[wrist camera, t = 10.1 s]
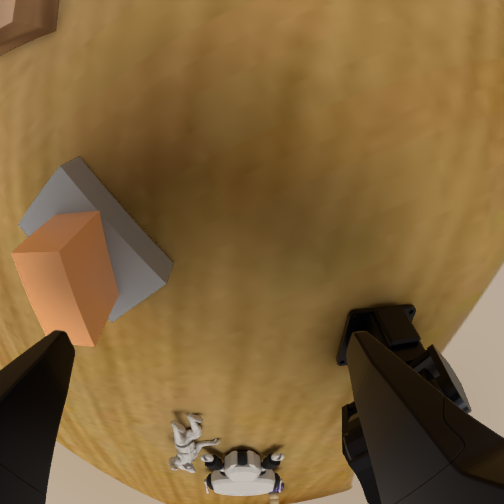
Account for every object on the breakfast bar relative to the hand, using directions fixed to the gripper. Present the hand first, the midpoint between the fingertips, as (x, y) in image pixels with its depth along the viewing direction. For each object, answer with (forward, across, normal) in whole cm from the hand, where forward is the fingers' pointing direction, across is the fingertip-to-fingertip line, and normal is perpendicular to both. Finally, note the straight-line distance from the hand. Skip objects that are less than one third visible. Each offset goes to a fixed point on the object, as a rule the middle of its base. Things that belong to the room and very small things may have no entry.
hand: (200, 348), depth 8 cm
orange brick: (+10, +9, +2) cm, 13 cm away
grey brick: (+12, +9, +2) cm, 15 cm away
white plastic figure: (+12, +6, +29) cm, 32 cm away
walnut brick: (+12, +14, -15) cm, 24 cm away
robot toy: (+12, -1, +40) cm, 42 cm away
